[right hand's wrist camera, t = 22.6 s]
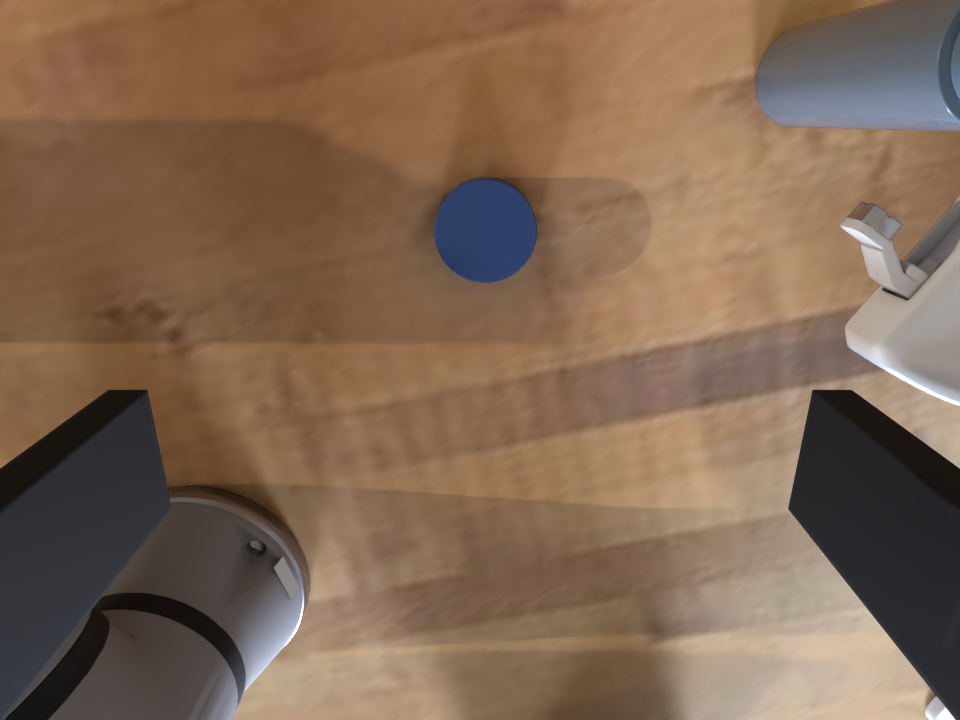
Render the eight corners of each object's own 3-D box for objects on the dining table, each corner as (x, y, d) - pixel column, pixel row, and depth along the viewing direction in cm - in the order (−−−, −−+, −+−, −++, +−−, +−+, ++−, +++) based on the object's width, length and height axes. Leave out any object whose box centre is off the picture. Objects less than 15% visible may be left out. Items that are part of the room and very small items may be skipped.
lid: (446, 283, 39) (445, 290, 37) (427, 186, 37) (424, 189, 35) (540, 267, 39) (543, 273, 37) (526, 168, 37) (528, 171, 35)
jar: (795, 4, 34) (1059, -92, 18) (871, 56, 34) (1184, 5, 19) (736, 98, 35) (933, 81, 20) (810, 144, 36) (1053, 163, 21)
